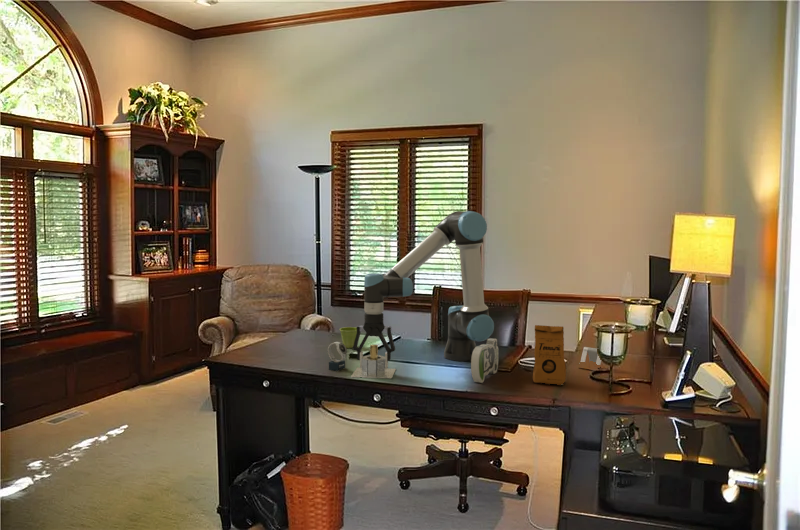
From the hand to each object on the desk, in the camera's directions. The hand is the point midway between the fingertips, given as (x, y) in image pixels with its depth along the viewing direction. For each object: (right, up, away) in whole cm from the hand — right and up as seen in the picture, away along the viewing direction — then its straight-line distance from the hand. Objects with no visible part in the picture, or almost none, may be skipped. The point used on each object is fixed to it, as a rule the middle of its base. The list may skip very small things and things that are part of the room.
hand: (373, 368), depth 251 cm
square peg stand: (0, -2, 0) cm, 2 cm away
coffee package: (+67, -4, -12) cm, 68 cm away
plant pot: (-14, +2, +48) cm, 50 cm away
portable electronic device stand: (+90, -2, +9) cm, 90 cm away
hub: (0, -2, 0) cm, 2 cm away
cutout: (+44, -3, -6) cm, 44 cm away
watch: (-15, -2, +7) cm, 17 cm away
